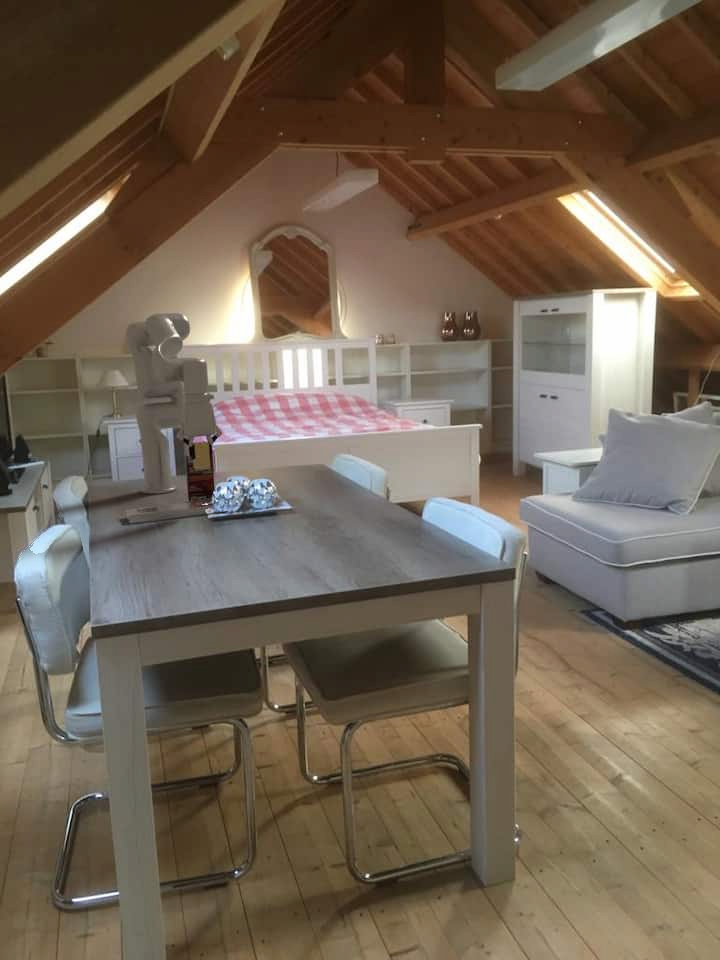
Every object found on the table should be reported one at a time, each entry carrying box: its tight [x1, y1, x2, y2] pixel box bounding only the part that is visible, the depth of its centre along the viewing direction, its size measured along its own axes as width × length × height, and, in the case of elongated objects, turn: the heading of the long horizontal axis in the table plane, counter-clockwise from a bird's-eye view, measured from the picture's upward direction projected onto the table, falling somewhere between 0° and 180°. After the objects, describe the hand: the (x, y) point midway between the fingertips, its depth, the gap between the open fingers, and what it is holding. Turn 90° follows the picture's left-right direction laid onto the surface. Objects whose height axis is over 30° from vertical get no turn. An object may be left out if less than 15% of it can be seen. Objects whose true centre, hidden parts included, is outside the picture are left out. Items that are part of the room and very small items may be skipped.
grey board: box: [125, 499, 214, 524], centre depth 253 cm, size 9×30×3 cm, turn 113°
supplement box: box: [185, 454, 216, 502], centre depth 270 cm, size 9×5×16 cm, turn 108°
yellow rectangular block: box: [193, 440, 210, 470], centre depth 253 cm, size 4×4×8 cm
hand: (201, 457), depth 253 cm, fingers closed on yellow rectangular block, 4 cm apart
